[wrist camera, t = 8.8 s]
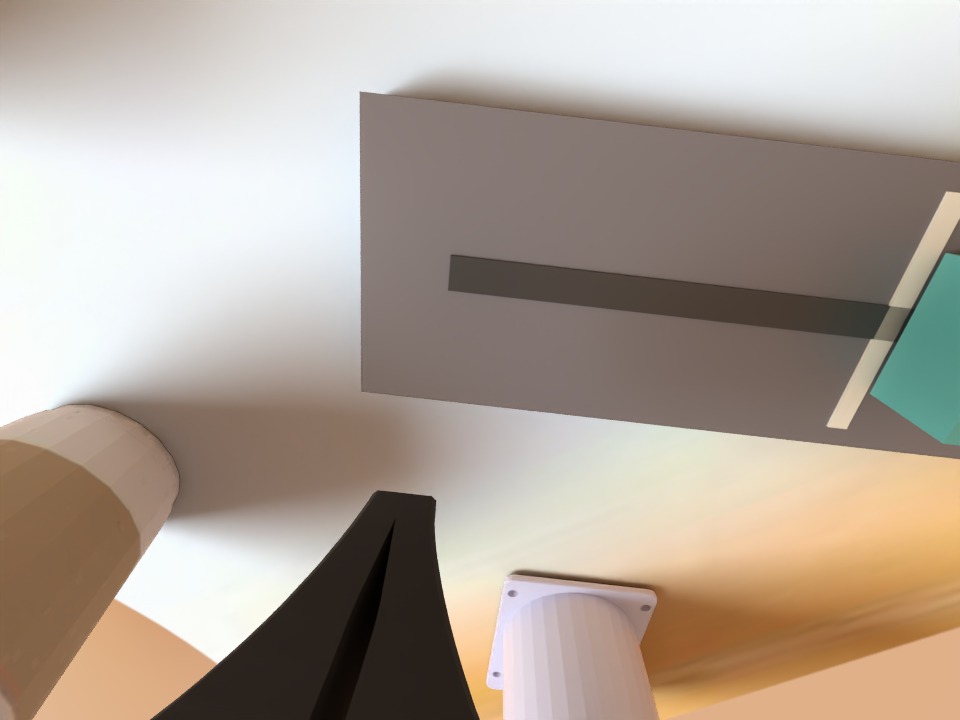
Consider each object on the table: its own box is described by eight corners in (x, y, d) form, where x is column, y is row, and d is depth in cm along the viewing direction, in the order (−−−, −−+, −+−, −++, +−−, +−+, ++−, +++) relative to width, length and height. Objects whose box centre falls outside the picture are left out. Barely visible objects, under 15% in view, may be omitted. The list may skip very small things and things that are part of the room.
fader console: (935, 432, 20) (982, 462, 18) (374, 368, 19) (360, 392, 18) (1095, 182, 15) (1179, 187, 13) (376, 97, 15) (358, 90, 13)
